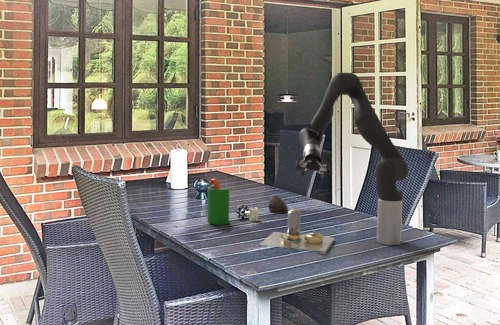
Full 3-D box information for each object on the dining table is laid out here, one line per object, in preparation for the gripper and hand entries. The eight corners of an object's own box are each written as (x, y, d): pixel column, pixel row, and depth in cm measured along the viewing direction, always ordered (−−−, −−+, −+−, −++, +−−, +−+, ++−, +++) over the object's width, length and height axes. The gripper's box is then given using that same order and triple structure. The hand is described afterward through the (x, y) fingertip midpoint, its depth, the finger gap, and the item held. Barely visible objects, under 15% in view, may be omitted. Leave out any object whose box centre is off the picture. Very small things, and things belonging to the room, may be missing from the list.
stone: (281, 215, 267) (267, 201, 268) (292, 205, 263) (278, 191, 264) (274, 223, 258) (260, 208, 259) (286, 212, 254) (271, 197, 255)
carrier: (334, 240, 210) (334, 229, 210) (324, 254, 192) (324, 242, 192) (273, 234, 218) (273, 224, 218) (259, 247, 201) (259, 236, 200)
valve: (262, 222, 238) (248, 217, 248) (262, 208, 237) (248, 203, 247) (250, 224, 235) (235, 219, 245) (250, 210, 234) (235, 205, 244)
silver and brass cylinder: (302, 237, 209) (303, 209, 208) (299, 241, 204) (299, 212, 202) (288, 236, 211) (288, 207, 209) (284, 240, 206) (284, 211, 204)
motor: (233, 221, 240) (232, 178, 237) (221, 226, 232) (221, 180, 229) (214, 218, 245) (214, 176, 242) (203, 222, 238) (202, 178, 235)
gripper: (297, 145, 224) (298, 165, 211) (330, 151, 225) (333, 171, 211) (293, 160, 228) (294, 180, 214) (326, 166, 229) (328, 187, 215)
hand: (313, 176), depth 213 cm, fingers open, 8 cm apart
